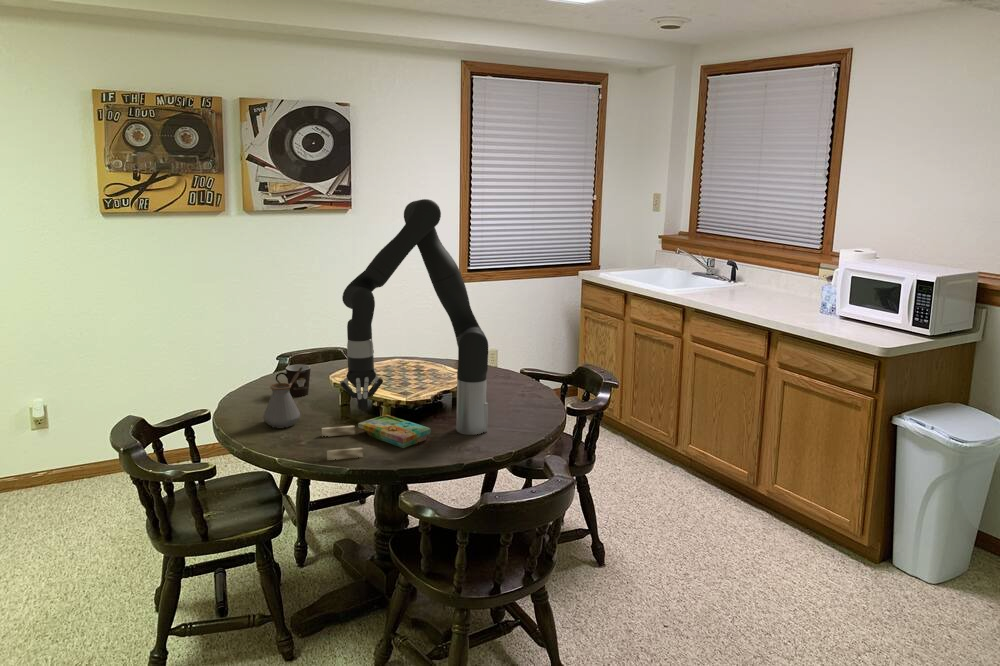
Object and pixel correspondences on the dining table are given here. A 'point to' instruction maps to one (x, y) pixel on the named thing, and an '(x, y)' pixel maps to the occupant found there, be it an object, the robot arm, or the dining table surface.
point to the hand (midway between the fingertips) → (362, 410)
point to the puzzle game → (395, 430)
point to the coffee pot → (282, 405)
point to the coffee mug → (298, 379)
